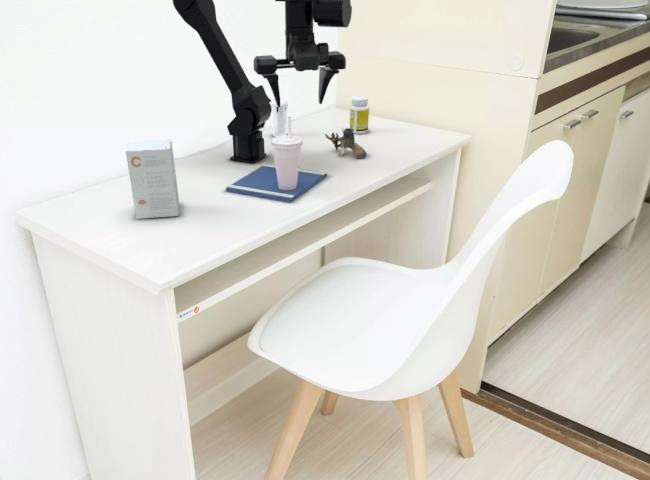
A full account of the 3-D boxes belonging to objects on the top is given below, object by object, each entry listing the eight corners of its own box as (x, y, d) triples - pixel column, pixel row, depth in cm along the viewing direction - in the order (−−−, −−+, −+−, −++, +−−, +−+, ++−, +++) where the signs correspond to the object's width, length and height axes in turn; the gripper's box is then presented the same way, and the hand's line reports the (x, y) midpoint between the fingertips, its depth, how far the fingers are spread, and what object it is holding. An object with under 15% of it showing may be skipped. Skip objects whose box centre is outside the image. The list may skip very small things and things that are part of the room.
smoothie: (303, 192, 130) (302, 121, 122) (271, 192, 130) (268, 121, 122) (303, 181, 135) (302, 112, 128) (272, 181, 135) (270, 113, 128)
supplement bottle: (370, 130, 169) (372, 97, 164) (363, 135, 166) (364, 100, 161) (354, 128, 171) (355, 95, 167) (346, 132, 168) (347, 98, 163)
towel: (226, 191, 133) (225, 187, 133) (266, 167, 146) (266, 163, 146) (290, 202, 127) (290, 198, 127) (326, 176, 140) (326, 172, 139)
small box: (179, 204, 128) (172, 138, 121) (178, 216, 123) (171, 148, 116) (138, 207, 127) (128, 140, 120) (135, 219, 122) (125, 150, 115)
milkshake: (267, 138, 165) (266, 97, 160) (273, 132, 169) (272, 93, 164) (284, 139, 164) (284, 98, 158) (290, 133, 168) (290, 93, 163)
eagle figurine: (320, 151, 151) (350, 151, 145) (327, 121, 151) (358, 120, 145) (339, 162, 157) (369, 162, 151) (346, 133, 157) (376, 132, 151)
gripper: (261, 34, 124) (264, 117, 132) (355, 28, 127) (352, 110, 135) (251, 26, 133) (254, 105, 141) (339, 21, 136) (337, 99, 144)
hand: (299, 105), depth 140 cm, fingers open, 9 cm apart
